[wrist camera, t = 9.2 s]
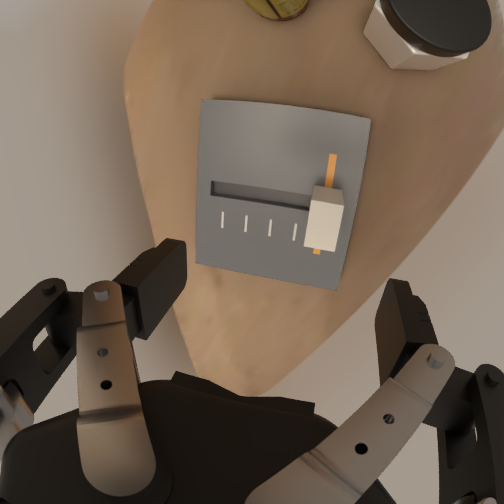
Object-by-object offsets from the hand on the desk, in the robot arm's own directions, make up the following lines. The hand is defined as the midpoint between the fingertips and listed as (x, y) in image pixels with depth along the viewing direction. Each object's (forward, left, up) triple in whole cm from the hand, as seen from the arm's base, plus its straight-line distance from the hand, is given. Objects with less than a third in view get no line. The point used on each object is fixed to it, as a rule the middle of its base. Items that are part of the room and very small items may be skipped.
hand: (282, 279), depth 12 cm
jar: (-16, +8, -22) cm, 29 cm away
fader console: (+3, -3, -22) cm, 22 cm away
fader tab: (+3, +2, -20) cm, 20 cm away
